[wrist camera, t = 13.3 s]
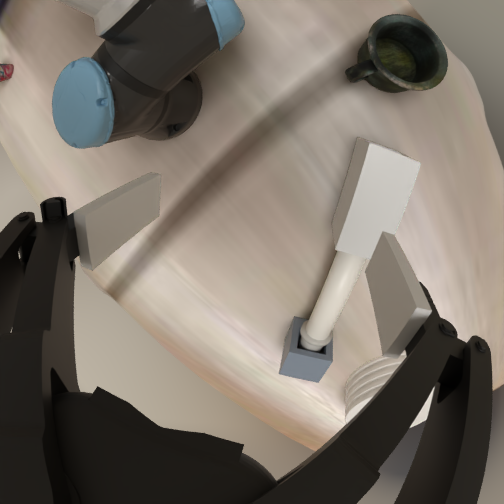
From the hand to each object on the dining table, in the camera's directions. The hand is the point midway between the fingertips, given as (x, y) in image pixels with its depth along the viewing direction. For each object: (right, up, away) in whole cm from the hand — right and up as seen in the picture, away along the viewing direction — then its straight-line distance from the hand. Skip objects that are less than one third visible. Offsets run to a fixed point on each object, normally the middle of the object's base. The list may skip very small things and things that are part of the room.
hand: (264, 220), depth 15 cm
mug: (+20, +28, +17) cm, 38 cm away
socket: (+12, -20, +45) cm, 51 cm away
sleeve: (+19, +9, +27) cm, 34 cm away
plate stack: (+40, -39, +49) cm, 74 cm away
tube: (+14, -9, +35) cm, 39 cm away
